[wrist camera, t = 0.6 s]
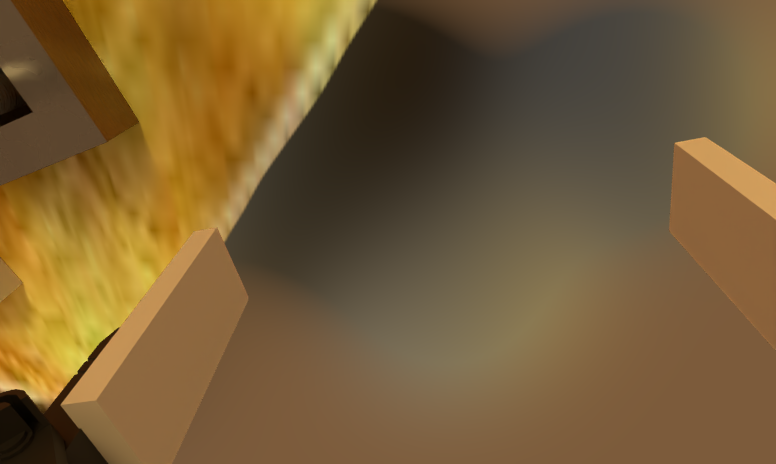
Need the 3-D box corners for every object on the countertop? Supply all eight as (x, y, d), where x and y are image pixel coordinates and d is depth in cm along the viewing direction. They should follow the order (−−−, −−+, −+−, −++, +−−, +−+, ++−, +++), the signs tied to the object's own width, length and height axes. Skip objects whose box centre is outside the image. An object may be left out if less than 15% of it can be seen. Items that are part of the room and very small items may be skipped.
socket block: (-77, 32, 39) (-139, 43, 34) (43, -30, 36) (-8, -27, 32) (27, 167, 44) (-15, 191, 40) (139, 121, 42) (106, 141, 37)
